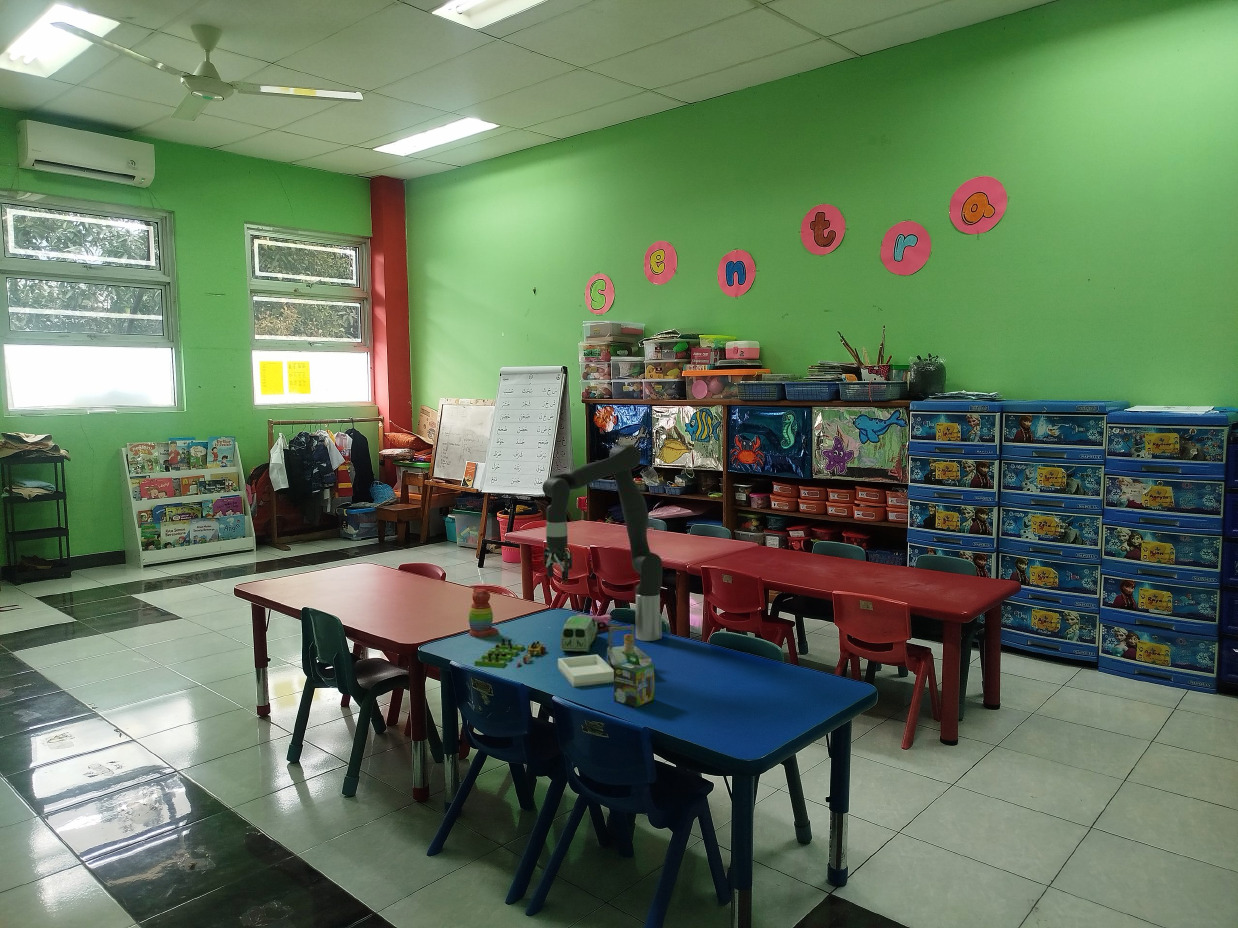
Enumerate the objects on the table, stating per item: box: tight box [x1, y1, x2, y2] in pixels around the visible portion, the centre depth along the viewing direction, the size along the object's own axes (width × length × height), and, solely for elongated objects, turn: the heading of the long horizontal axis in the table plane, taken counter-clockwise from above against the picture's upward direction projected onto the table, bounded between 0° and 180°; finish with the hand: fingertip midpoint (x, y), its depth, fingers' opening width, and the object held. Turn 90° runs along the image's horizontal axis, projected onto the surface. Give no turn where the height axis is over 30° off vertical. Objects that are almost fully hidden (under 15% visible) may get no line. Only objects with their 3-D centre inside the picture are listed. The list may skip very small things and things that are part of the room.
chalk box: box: [613, 652, 656, 708], centre depth 251 cm, size 9×9×15 cm
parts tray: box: [557, 654, 614, 688], centre depth 274 cm, size 14×19×4 cm
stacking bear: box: [468, 587, 499, 638], centre depth 324 cm, size 11×10×18 cm
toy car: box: [559, 615, 598, 653], centre depth 309 cm, size 11×25×10 cm, turn 173°
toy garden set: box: [474, 638, 547, 669], centre depth 294 cm, size 23×19×5 cm
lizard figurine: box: [576, 613, 622, 635], centre depth 332 cm, size 15×20×7 cm
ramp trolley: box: [606, 624, 652, 668], centre depth 279 cm, size 10×16×13 cm, turn 19°
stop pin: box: [623, 633, 633, 655], centre depth 279 cm, size 3×3×12 cm
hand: (557, 579), depth 295 cm, fingers open, 8 cm apart
